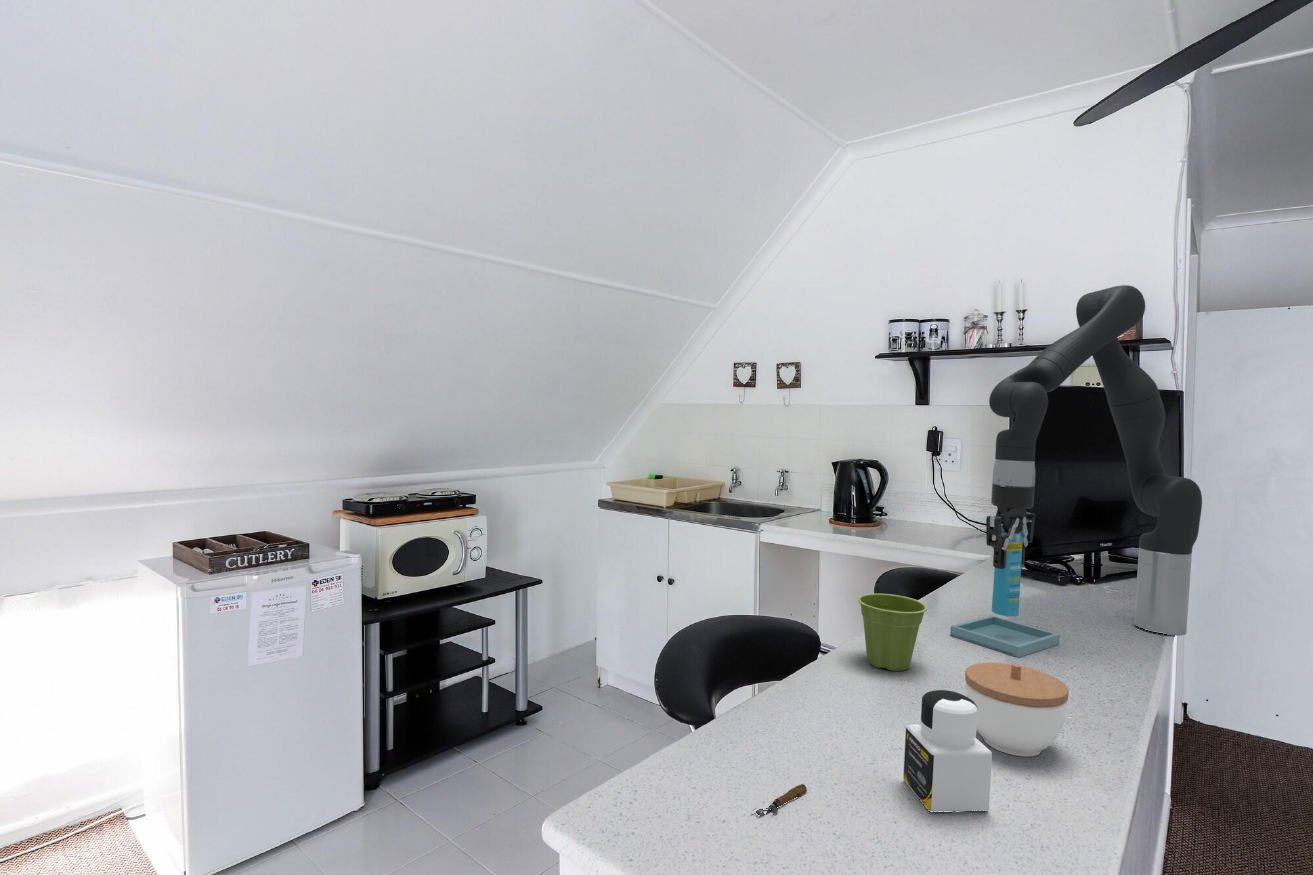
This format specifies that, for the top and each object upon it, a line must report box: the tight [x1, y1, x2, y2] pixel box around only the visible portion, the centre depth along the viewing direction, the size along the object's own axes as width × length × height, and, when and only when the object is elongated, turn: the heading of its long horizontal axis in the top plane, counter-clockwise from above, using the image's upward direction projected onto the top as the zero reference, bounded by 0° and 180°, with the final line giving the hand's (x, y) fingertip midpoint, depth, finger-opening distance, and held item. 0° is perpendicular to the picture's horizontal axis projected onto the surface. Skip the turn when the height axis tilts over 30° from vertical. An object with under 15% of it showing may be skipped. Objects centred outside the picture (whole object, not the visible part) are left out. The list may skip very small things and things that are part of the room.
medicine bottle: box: [903, 689, 993, 812], centre depth 83 cm, size 7×7×12 cm
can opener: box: [755, 783, 808, 816], centre depth 80 cm, size 9×2×1 cm, turn 126°
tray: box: [949, 615, 1061, 659], centre depth 141 cm, size 15×14×2 cm
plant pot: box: [857, 593, 929, 672], centre depth 125 cm, size 12×12×11 cm
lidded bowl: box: [964, 662, 1069, 758], centre depth 96 cm, size 13×13×11 cm
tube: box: [991, 527, 1023, 617], centre depth 140 cm, size 7×5×19 cm, turn 124°
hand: (1008, 565), depth 140 cm, fingers closed on tube, 6 cm apart
